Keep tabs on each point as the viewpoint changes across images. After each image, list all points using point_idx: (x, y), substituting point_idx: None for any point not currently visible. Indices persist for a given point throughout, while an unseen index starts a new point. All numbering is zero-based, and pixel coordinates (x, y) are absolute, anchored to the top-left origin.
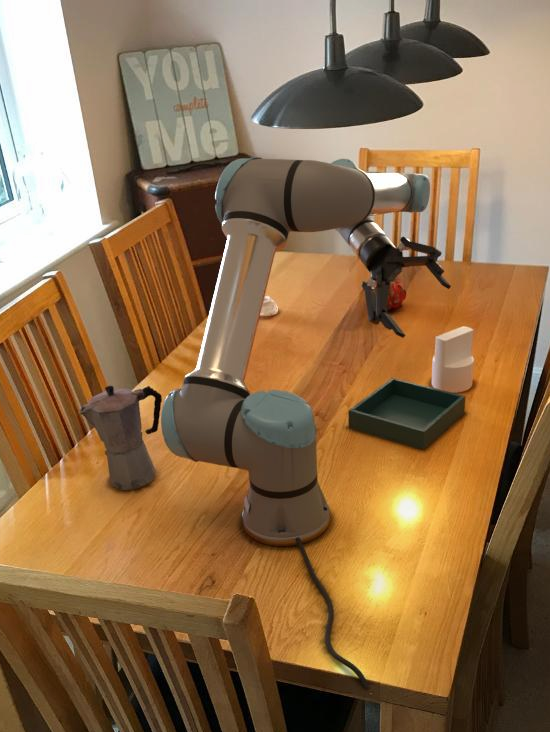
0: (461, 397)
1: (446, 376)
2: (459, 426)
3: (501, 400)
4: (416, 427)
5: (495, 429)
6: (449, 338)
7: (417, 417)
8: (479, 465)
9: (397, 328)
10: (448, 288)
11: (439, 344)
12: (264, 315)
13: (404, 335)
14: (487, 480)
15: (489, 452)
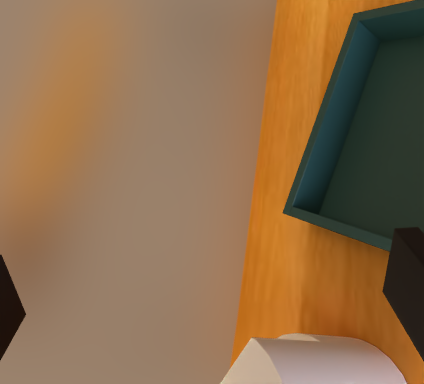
0: (290, 202)
1: (333, 339)
2: None
3: (250, 300)
4: (406, 102)
5: (263, 177)
6: (240, 360)
7: (414, 152)
8: (285, 55)
9: (412, 283)
10: (21, 309)
11: (285, 357)
12: None
13: (387, 285)
14: (276, 27)
15: (273, 99)
